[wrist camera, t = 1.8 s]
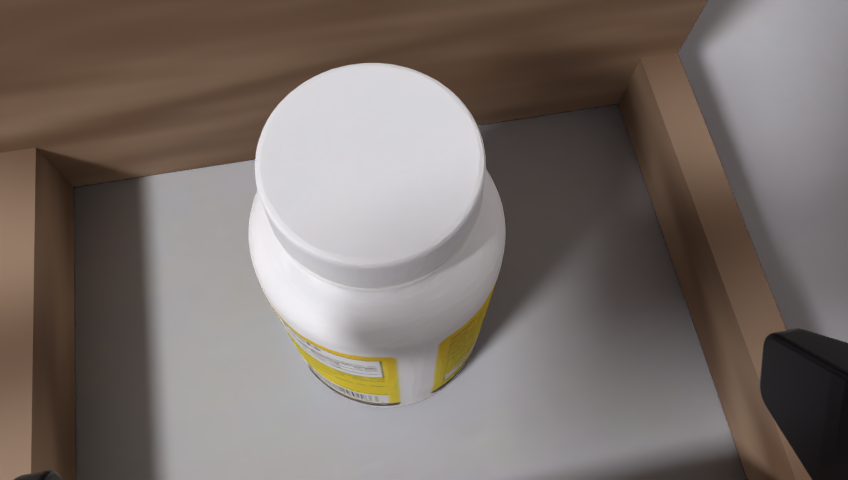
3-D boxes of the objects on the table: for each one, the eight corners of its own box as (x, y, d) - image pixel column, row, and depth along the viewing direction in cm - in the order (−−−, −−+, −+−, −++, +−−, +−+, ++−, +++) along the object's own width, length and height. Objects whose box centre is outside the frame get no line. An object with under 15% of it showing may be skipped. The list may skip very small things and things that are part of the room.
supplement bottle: (448, 216, 22) (478, 2, 13) (501, 381, 20) (578, 264, 11) (279, 257, 22) (189, 62, 13) (317, 433, 20) (243, 351, 11)
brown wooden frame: (813, 541, 19) (1132, 551, 11) (26, 715, 17) (-333, 892, 9) (640, 69, 25) (761, -165, 16) (35, 159, 23) (-178, -54, 14)
